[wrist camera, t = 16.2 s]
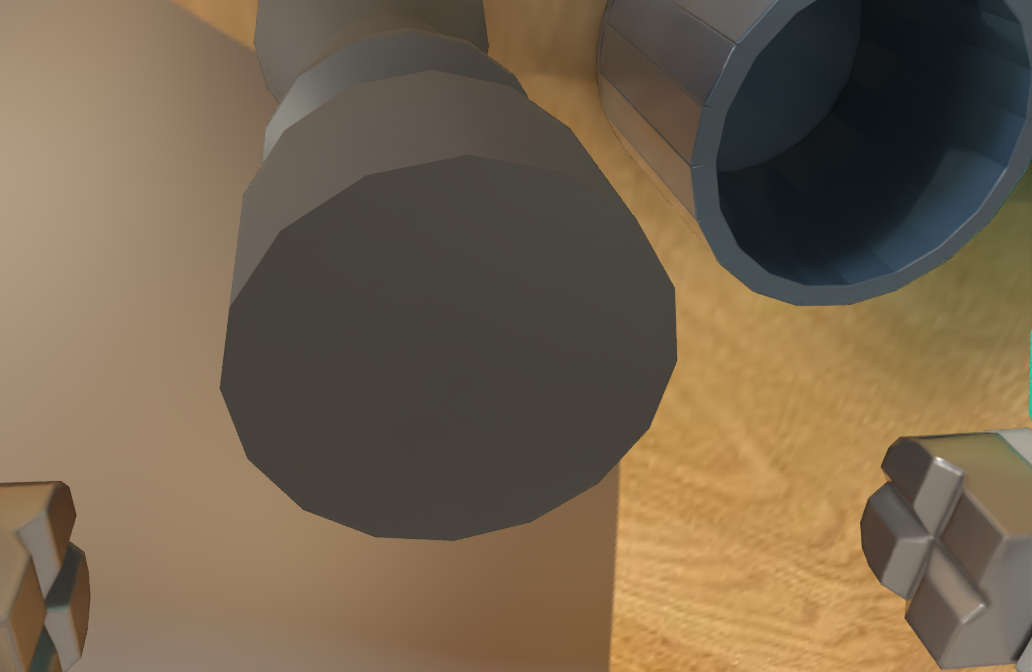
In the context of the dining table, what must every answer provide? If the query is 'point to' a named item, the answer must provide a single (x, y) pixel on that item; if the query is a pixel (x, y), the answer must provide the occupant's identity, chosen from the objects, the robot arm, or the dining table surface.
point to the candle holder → (432, 282)
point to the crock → (824, 130)
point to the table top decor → (1031, 388)
